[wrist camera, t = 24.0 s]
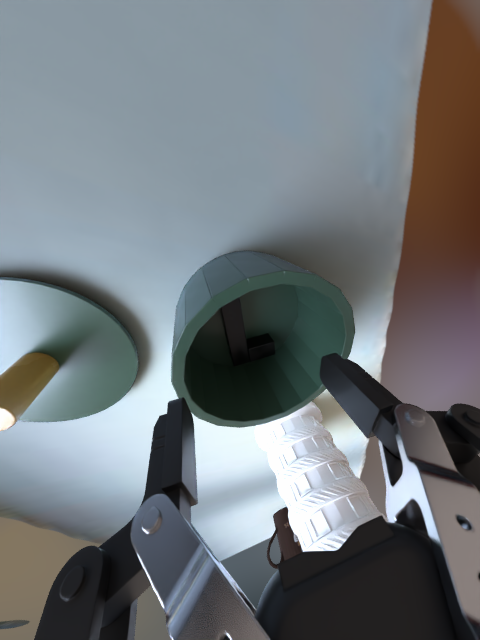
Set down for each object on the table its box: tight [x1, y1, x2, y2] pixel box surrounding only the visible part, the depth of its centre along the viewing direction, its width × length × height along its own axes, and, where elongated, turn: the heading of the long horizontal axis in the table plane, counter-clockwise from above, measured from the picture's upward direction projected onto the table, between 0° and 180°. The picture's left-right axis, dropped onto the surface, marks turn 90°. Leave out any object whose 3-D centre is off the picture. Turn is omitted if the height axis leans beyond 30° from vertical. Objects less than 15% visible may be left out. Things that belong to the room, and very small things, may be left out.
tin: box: [171, 251, 355, 428], centre depth 17 cm, size 14×14×8 cm
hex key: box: [220, 297, 275, 367], centre depth 19 cm, size 8×5×2 cm, turn 8°
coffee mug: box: [267, 507, 303, 569], centre depth 48 cm, size 12×9×10 cm
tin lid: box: [0, 277, 139, 431], centre depth 14 cm, size 15×15×6 cm
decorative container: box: [255, 401, 388, 552], centre depth 24 cm, size 12×12×18 cm
